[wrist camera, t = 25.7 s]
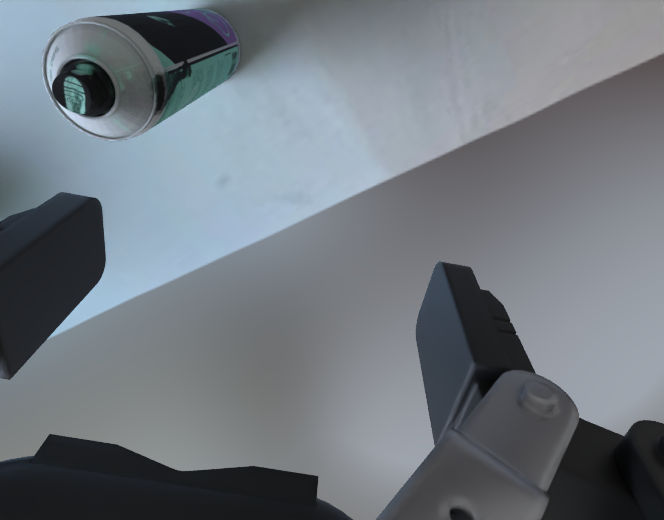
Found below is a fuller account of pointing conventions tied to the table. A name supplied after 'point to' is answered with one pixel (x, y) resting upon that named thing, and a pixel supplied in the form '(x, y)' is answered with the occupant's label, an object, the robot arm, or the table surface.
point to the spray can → (136, 68)
